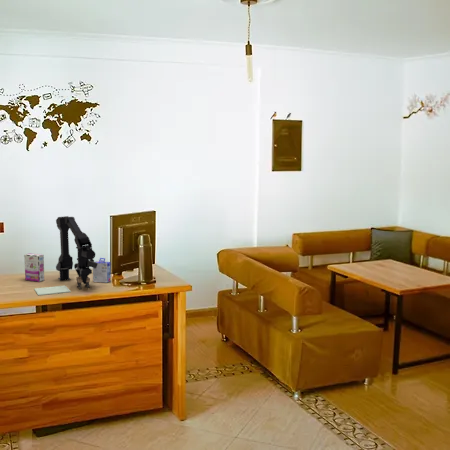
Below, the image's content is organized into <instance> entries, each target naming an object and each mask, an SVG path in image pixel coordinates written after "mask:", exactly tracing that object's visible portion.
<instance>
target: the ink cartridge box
mask: <svg viewBox="0 0 450 450" xmlns="http://www.w3.org/2000/svg"><path fill="white" fill-rule="evenodd" d="M95 262H96V263H98V265H97V268H93V267H92V282H94V283H109V282H111V281H112V275H111V267H112V266H111V264H112V263H111V261H106V257H99V259H98V261H95Z"/></svg>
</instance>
